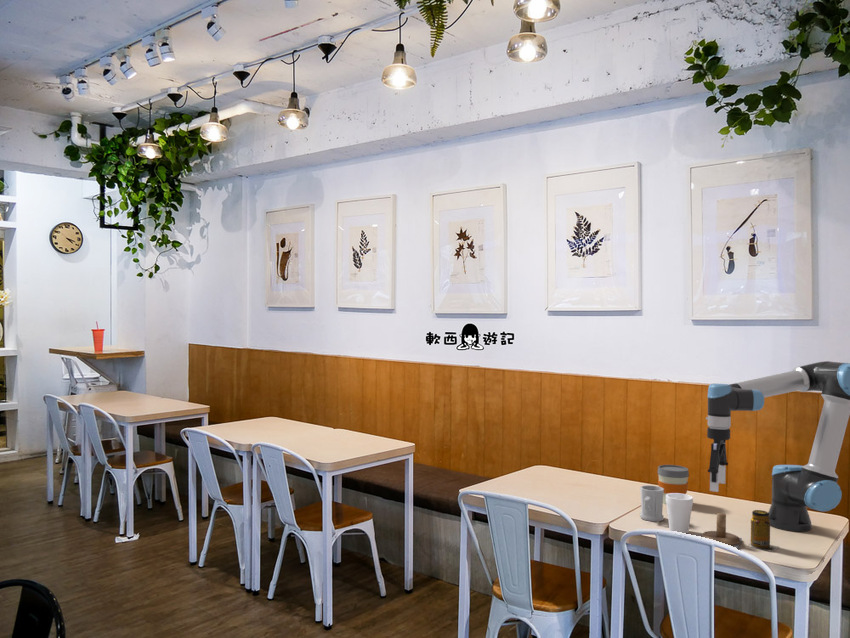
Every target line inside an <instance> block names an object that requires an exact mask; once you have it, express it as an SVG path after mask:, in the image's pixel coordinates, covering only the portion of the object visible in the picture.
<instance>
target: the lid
mask: <svg viewBox="0 0 850 638" xmlns="http://www.w3.org/2000/svg"><path fill="white" fill-rule="evenodd" d="M726 530H727V514H726V513H721V512H719V513H718V512H717V513H716V530H709V531H708V530H707V531H704V532H703V533H702V537H705V538H709V539H713V540H716V541H719V542H722V543H725V544H728V545H731V546H733V545H738V544H739V543H740V538H741V537H739V536H738V535H736V534H733V533H730V532H727V531H726ZM740 544H741V543H740Z"/></svg>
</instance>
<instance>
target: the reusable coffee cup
mask: <svg viewBox="0 0 850 638" xmlns="http://www.w3.org/2000/svg"><path fill="white" fill-rule="evenodd" d="M657 475H658V479H657V481H658V487H662V488H663V489H664V494H663V505H666V506H667V504H666V494H669V493H681V494H686V495H687V493H688V486H689V482H688V481H689V480H688V479H689V476H690V474H689V468H687V467H685V466H682V465H677V464H676V465H675V464H661V465H659V466H657Z"/></svg>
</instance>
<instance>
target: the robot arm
mask: <svg viewBox="0 0 850 638" xmlns="http://www.w3.org/2000/svg"><path fill="white" fill-rule="evenodd" d="M798 391H799V392H801V393H804V392H805V393H806V392H821V394H820V396H821V397H822V399H823V406H822V408H821V413H820V417H819V420H818V425H817V428H816V433H815V437H814V440H813V443H812V447H811V452H810V454H809V459H808V463H807V464H805V465H801V464H800V465H799V464H777V465H774V466H773V467H772V470H771V471H772V472H771V478H772V479H771V482H772V483H771V504H770V508H769V510H768V511H767V512H768V513H769V521H770V527H773V528H776V529H780V530H783V531H790V532H791V531H792V532H808V531H811V530H812V519H811V518H810V517H811V516H810V514H809V511H808V508H809V509H811V510H813V511H819V512H829V511H831V510H832V509H835V508H836V507H837V506H838V505H839V504H840V502H841V500H842V497H843V496H842V495H843V494H842V492H843V491H842V490H841V486H840V485H839V484H838V480H839V476H838V474H837V473H836V468H837V463H838V460H839V456H840V453H841V450H842V449H841V448H842V446H843V441H844V439H845V438H844V437H845V433H846V429H847V426H848V422H849V419H850V363H849V362H837V361H830V360H829V361H819V362H814V363H809V364H805V365H801V366H797V367H794V368H793V369H792V370H791V371H786V372H781V373H776V374H772V375H767V376H762V377H757V378H753V379H748V380H744V381H740V382H734V383H731V384H727V383H710V384H709V385H708V389H707V416H706V417H705V420H707V426H708V427H707V430H706V433H707V434H706V435H707V436H706V437H707V439H710V440H713V442H712V443H711V444H710V456H709V466H708V467H709V468H708V469H707V472H708V473H709V492H716V493H719V488H720V487H719V484H724V485H725V484H726V469H727V467H726V466H728V465H729V462H728V461H727V459H728V458H727V449H726V448H727V447H726V441H728V440H730V439H731V429H730V428H731V427H732V426H731V425H732V421H731V420H732V419H731V414H732V413H731V412H732V411H735V412H736V411H737V412H738V411H742V412H743V411H744V412H745V411H746V412H754V411H760V410H762V409H763V408H764V405H765V398H768V397H773V396H777V395H778V396H779V395H784V394H787V393H791V392H798Z"/></svg>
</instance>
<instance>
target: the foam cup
mask: <svg viewBox="0 0 850 638" xmlns="http://www.w3.org/2000/svg"><path fill="white" fill-rule="evenodd" d="M666 504H667V505H666V512H667V518H668V520H667V521H668V527H669V531H670V530H671V531H677V532H682V533H687V534H688V533H689V529H690V523H691V516H692V510H693V505H694V497H693V496H692V495H689V494H687V493H686V494H681V493H669V494H666Z"/></svg>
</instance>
